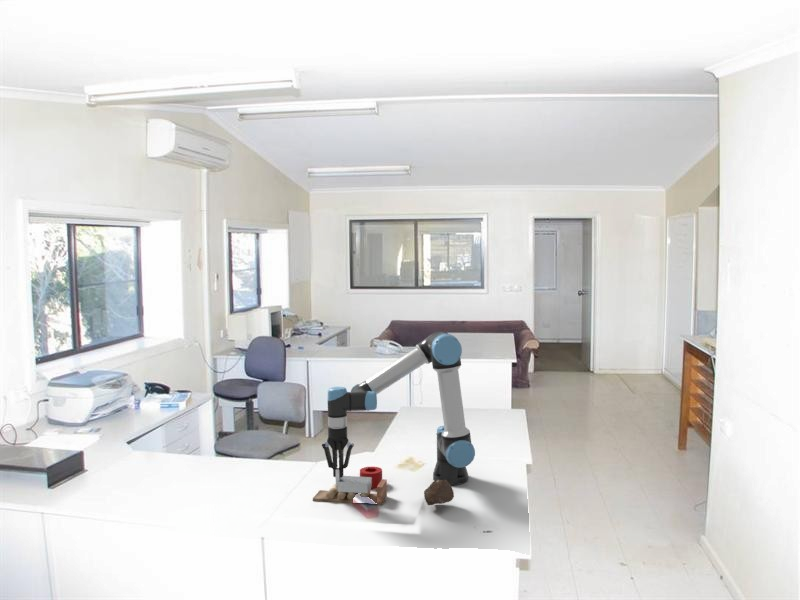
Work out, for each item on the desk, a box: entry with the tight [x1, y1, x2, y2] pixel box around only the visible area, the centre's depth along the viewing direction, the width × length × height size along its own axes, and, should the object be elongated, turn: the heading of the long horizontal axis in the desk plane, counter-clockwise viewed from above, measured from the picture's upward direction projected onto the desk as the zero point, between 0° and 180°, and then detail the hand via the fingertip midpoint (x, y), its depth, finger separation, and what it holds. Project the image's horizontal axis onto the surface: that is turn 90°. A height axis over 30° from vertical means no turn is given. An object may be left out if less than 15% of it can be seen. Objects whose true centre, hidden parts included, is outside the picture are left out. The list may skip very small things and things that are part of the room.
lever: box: [359, 466, 383, 490], centre depth 264 cm, size 18×9×7 cm, turn 18°
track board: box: [312, 478, 388, 506], centre depth 244 cm, size 28×9×7 cm, turn 79°
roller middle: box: [337, 492, 349, 500], centre depth 245 cm, size 8×3×3 cm, turn 169°
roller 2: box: [347, 492, 358, 500], centre depth 244 cm, size 8×3×3 cm, turn 169°
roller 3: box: [360, 489, 372, 497], centre depth 243 cm, size 8×3×3 cm, turn 169°
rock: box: [423, 480, 455, 506], centre depth 237 cm, size 12×10×10 cm
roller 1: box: [326, 483, 338, 499], centre depth 245 cm, size 8×3×3 cm, turn 169°
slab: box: [338, 475, 372, 493], centre depth 244 cm, size 12×7×4 cm, turn 79°
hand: (338, 484), depth 245 cm, fingers closed
